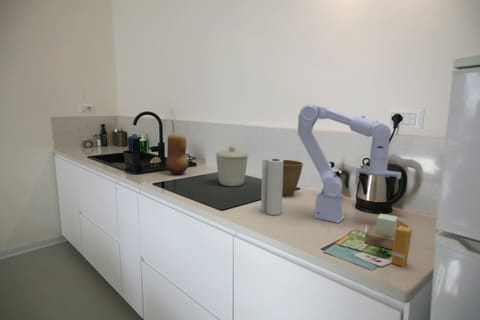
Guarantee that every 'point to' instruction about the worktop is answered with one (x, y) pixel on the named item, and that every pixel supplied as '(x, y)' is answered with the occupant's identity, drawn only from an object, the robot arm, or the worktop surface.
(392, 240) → the walnut base block
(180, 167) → the butternut squash
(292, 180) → the plant pot
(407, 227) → the pastry
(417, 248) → the worktop surface
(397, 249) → the supplement box
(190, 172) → the worktop surface
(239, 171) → the canister
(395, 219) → the sage green block
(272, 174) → the paper towel roll
